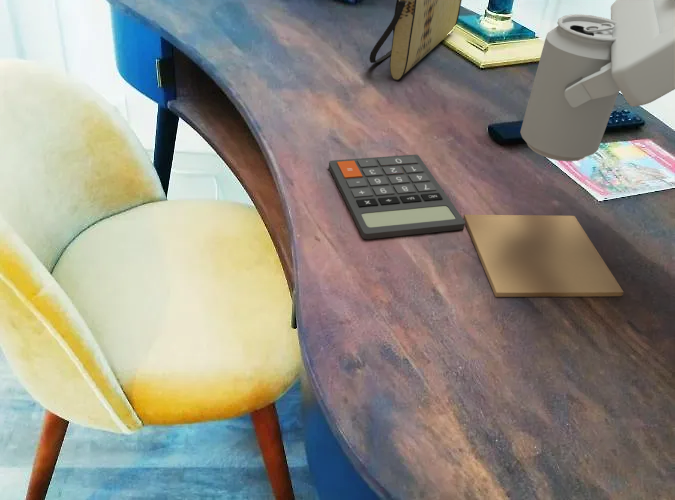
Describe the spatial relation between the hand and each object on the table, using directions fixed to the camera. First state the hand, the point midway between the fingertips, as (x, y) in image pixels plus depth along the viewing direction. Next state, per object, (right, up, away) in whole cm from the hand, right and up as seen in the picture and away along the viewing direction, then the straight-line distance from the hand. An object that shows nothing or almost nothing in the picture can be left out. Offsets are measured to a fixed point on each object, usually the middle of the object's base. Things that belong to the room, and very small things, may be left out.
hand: (569, 79), depth 59 cm
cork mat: (0, -16, +9) cm, 18 cm away
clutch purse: (-9, +18, +51) cm, 55 cm away
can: (0, -6, +4) cm, 7 cm away
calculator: (-15, -10, +16) cm, 24 cm away
